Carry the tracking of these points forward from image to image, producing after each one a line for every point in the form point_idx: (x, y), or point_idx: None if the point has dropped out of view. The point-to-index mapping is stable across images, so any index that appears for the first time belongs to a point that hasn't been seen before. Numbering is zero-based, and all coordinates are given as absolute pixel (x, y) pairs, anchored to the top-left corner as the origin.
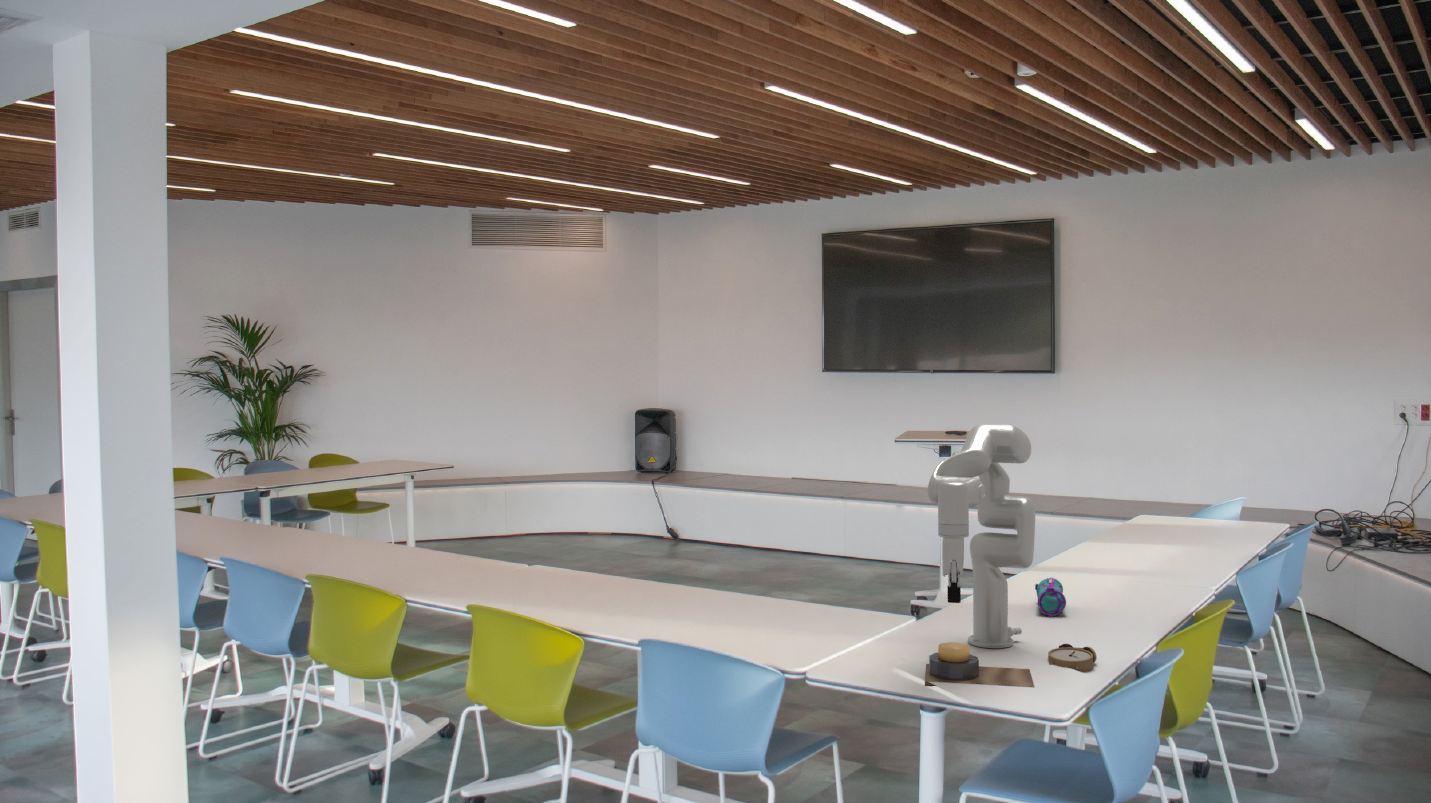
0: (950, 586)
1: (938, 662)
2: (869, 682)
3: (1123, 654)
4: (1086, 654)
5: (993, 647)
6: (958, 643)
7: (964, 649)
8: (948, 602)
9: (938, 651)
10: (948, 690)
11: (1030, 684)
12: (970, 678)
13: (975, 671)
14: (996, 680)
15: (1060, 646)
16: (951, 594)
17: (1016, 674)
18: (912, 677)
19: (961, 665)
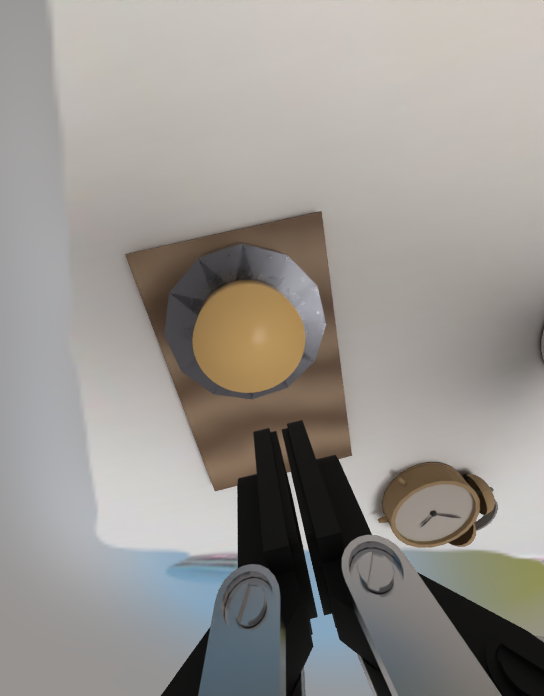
0: (224, 606)
1: (169, 296)
2: (58, 38)
3: (511, 540)
4: (444, 533)
5: (542, 343)
6: (295, 348)
7: (220, 385)
8: (253, 433)
9: (231, 285)
10: (126, 324)
11: (231, 481)
12: None
13: None
14: (230, 419)
15: (491, 491)
16: (239, 515)
17: None
18: (201, 192)
19: (180, 367)
